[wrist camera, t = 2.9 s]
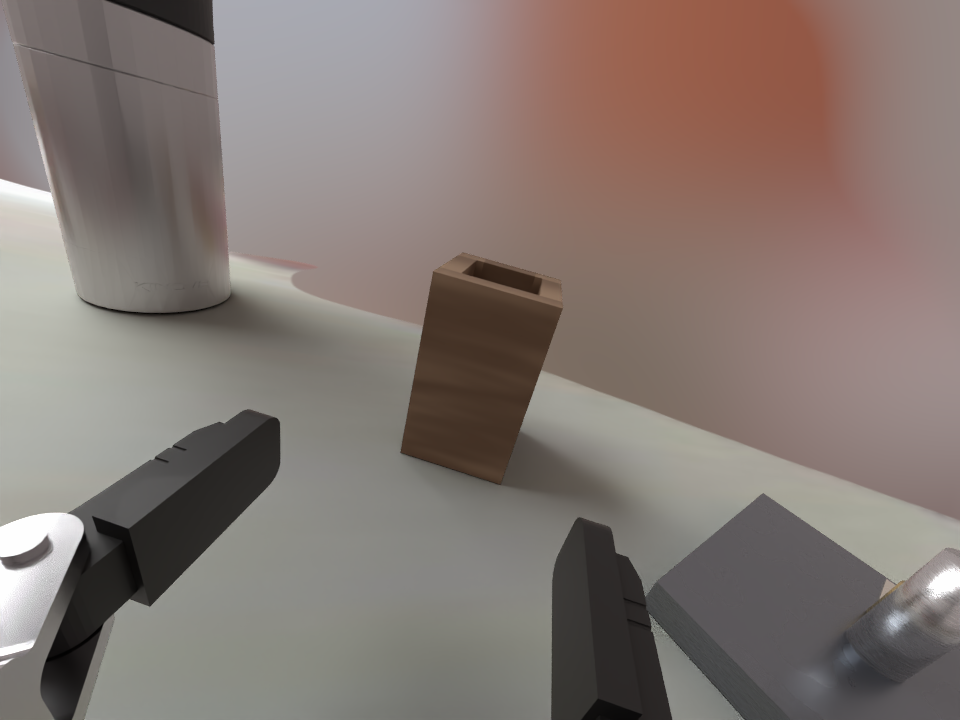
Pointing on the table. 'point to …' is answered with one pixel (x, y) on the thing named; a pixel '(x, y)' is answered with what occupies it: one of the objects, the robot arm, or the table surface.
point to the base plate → (813, 624)
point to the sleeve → (479, 363)
